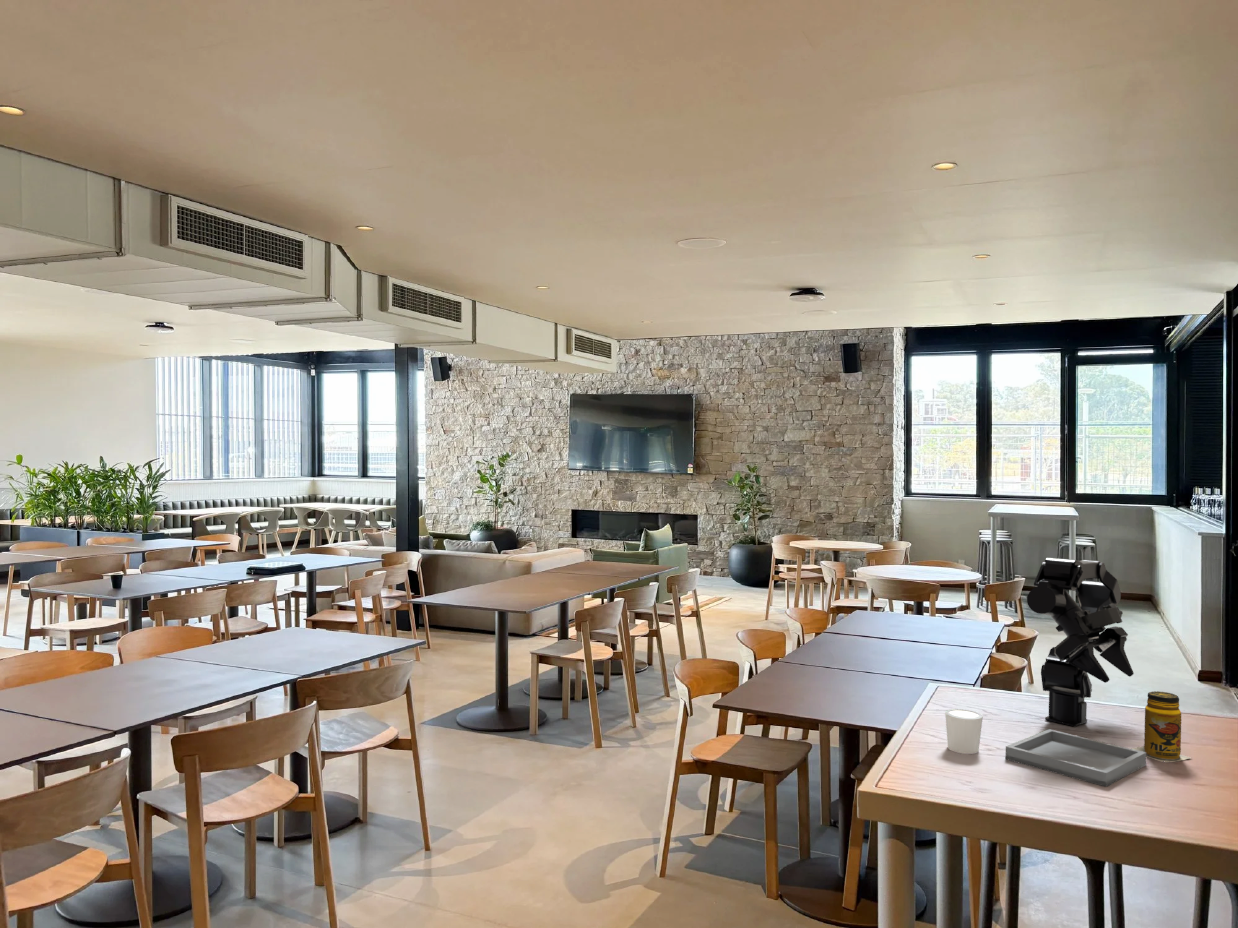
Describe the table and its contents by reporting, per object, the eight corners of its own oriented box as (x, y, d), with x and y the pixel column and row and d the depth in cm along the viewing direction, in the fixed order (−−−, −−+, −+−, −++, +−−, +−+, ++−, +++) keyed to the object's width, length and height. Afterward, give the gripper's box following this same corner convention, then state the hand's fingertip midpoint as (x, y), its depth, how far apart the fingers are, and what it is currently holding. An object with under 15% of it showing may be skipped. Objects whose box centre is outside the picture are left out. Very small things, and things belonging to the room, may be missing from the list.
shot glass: (964, 756, 172) (965, 720, 172) (936, 746, 178) (937, 710, 178) (989, 751, 175) (990, 715, 175) (961, 741, 181) (962, 706, 181)
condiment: (1166, 763, 170) (1167, 700, 170) (1125, 749, 178) (1126, 689, 178) (1192, 759, 173) (1193, 696, 173) (1150, 745, 181) (1152, 686, 181)
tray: (1005, 758, 171) (1005, 746, 171) (1048, 740, 183) (1049, 728, 183) (1105, 786, 157) (1106, 772, 157) (1145, 765, 169) (1146, 752, 169)
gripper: (1069, 595, 181) (1125, 661, 172) (1119, 588, 191) (1173, 650, 182) (1032, 627, 187) (1083, 693, 178) (1081, 619, 198) (1132, 680, 189)
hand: (1119, 678), depth 182 cm, fingers open, 9 cm apart
